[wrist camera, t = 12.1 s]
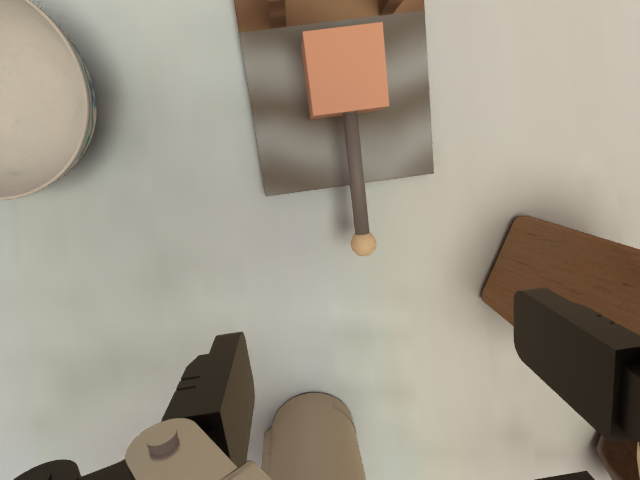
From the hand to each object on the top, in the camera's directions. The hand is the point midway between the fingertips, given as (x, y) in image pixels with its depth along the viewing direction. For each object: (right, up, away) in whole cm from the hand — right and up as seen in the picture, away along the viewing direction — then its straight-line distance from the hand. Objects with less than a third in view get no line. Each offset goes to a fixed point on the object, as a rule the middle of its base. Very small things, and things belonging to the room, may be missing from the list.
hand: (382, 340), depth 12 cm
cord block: (+1, +11, +25) cm, 27 cm away
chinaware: (-26, +15, +24) cm, 38 cm away
